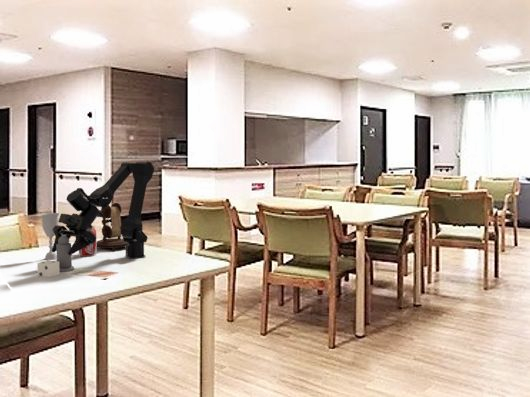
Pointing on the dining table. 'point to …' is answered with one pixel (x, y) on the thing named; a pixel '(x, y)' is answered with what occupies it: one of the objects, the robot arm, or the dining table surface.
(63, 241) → the pawn
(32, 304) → the dining table surface
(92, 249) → the soda can
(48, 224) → the chalice
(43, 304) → the dining table surface
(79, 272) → the game track
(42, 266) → the die
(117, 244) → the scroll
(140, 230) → the robot arm
